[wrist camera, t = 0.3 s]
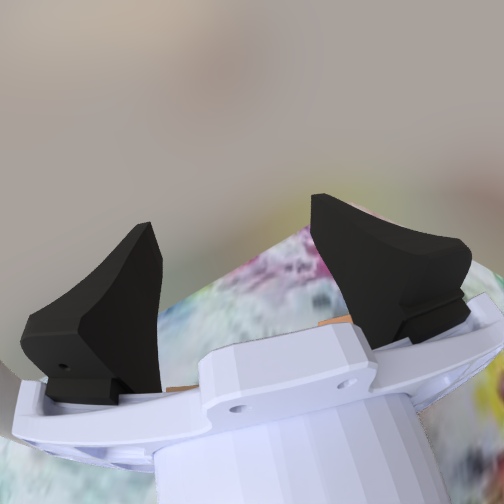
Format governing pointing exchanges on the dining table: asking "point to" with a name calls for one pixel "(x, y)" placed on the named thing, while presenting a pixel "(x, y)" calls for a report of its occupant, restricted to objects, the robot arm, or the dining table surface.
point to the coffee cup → (9, 402)
